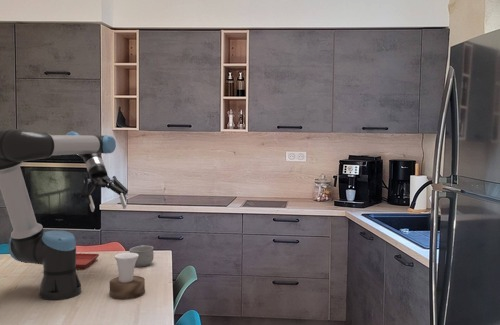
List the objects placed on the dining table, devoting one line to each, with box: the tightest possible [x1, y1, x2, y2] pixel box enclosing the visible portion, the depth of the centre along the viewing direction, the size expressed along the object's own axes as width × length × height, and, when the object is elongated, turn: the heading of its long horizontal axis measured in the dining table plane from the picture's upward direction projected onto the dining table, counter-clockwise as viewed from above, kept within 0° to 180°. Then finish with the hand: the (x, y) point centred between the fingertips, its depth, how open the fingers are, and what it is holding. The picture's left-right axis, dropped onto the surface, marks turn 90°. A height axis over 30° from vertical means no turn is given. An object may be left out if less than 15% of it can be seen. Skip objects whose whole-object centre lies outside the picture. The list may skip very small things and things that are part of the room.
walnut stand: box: [109, 275, 146, 300], centre depth 191 cm, size 13×13×5 cm
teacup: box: [129, 244, 154, 267], centre depth 233 cm, size 14×11×8 cm
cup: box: [114, 251, 139, 282], centre depth 191 cm, size 9×9×10 cm
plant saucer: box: [76, 252, 100, 270], centre depth 232 cm, size 18×18×3 cm
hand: (109, 208), depth 208 cm, fingers open, 13 cm apart
